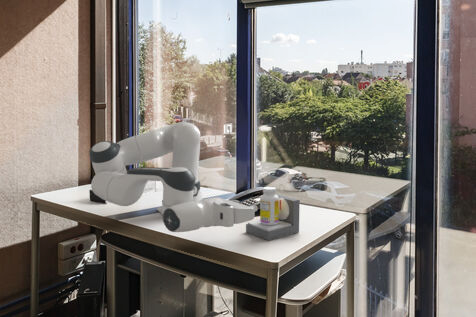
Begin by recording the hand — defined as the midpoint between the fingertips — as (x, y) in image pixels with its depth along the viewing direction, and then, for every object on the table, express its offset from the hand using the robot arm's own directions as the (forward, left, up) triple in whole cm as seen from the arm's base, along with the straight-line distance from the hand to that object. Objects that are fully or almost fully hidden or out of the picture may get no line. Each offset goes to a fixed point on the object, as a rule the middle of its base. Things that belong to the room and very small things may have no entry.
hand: (246, 205), depth 136 cm
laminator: (-92, -5, -12) cm, 93 cm away
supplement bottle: (0, +11, -8) cm, 14 cm away
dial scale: (0, +12, -12) cm, 17 cm away
